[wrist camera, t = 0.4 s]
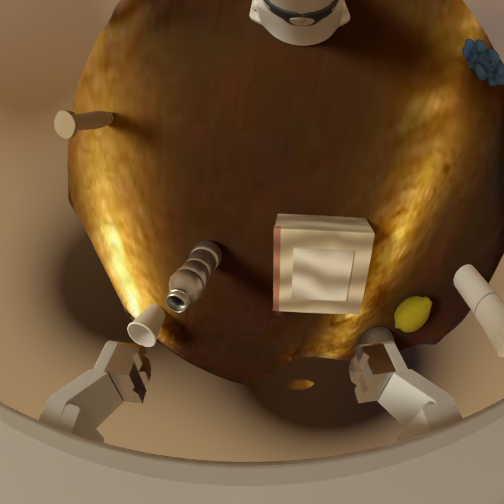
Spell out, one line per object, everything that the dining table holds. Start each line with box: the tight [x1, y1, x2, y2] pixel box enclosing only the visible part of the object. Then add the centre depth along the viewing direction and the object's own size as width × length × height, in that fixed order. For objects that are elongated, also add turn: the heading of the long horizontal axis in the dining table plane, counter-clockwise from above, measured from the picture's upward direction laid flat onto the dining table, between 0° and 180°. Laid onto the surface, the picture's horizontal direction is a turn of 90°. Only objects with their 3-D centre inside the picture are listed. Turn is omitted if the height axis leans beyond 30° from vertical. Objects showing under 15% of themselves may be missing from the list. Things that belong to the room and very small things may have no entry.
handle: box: [54, 111, 114, 139], centre depth 45 cm, size 5×6×15 cm
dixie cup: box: [127, 304, 166, 347], centre depth 70 cm, size 8×8×10 cm
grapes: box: [462, 39, 504, 86], centre depth 29 cm, size 12×7×12 cm, turn 54°
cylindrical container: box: [454, 264, 504, 357], centre depth 44 cm, size 7×7×25 cm
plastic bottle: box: [166, 241, 222, 312], centre depth 54 cm, size 6×7×20 cm
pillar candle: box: [358, 327, 396, 345], centre depth 60 cm, size 10×10×15 cm
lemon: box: [394, 296, 432, 332], centre depth 57 cm, size 11×8×8 cm
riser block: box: [273, 214, 375, 314], centre depth 55 cm, size 18×18×8 cm
